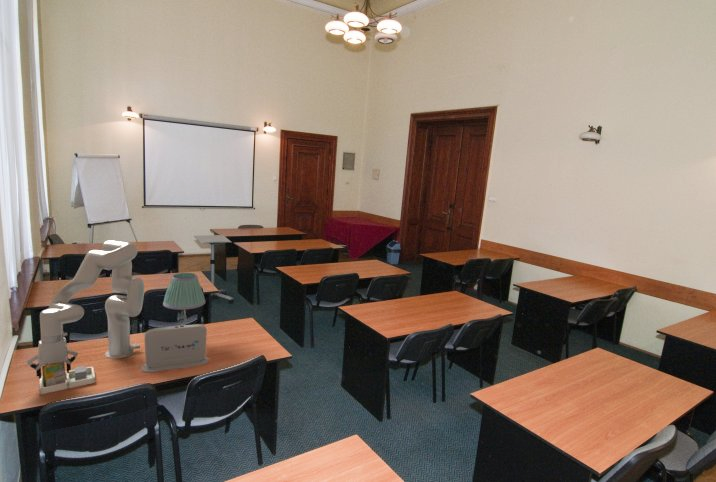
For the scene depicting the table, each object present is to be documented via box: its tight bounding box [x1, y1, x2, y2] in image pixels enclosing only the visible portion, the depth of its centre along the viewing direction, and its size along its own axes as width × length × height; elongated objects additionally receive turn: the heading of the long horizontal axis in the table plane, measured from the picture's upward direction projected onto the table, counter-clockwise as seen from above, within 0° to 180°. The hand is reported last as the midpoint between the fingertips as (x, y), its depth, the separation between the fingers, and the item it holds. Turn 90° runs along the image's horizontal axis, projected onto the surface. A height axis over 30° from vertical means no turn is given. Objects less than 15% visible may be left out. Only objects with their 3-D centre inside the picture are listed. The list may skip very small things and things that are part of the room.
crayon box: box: [41, 361, 66, 387], centre depth 170 cm, size 7×3×12 cm, turn 150°
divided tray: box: [38, 365, 96, 395], centre depth 174 cm, size 19×12×3 cm, turn 127°
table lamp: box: [162, 272, 207, 325], centre depth 217 cm, size 22×22×40 cm
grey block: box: [74, 365, 87, 381], centre depth 176 cm, size 4×6×5 cm, turn 37°
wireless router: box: [140, 323, 210, 373], centre depth 197 cm, size 31×10×20 cm, turn 117°
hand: (54, 374), depth 170 cm, fingers open, 9 cm apart
